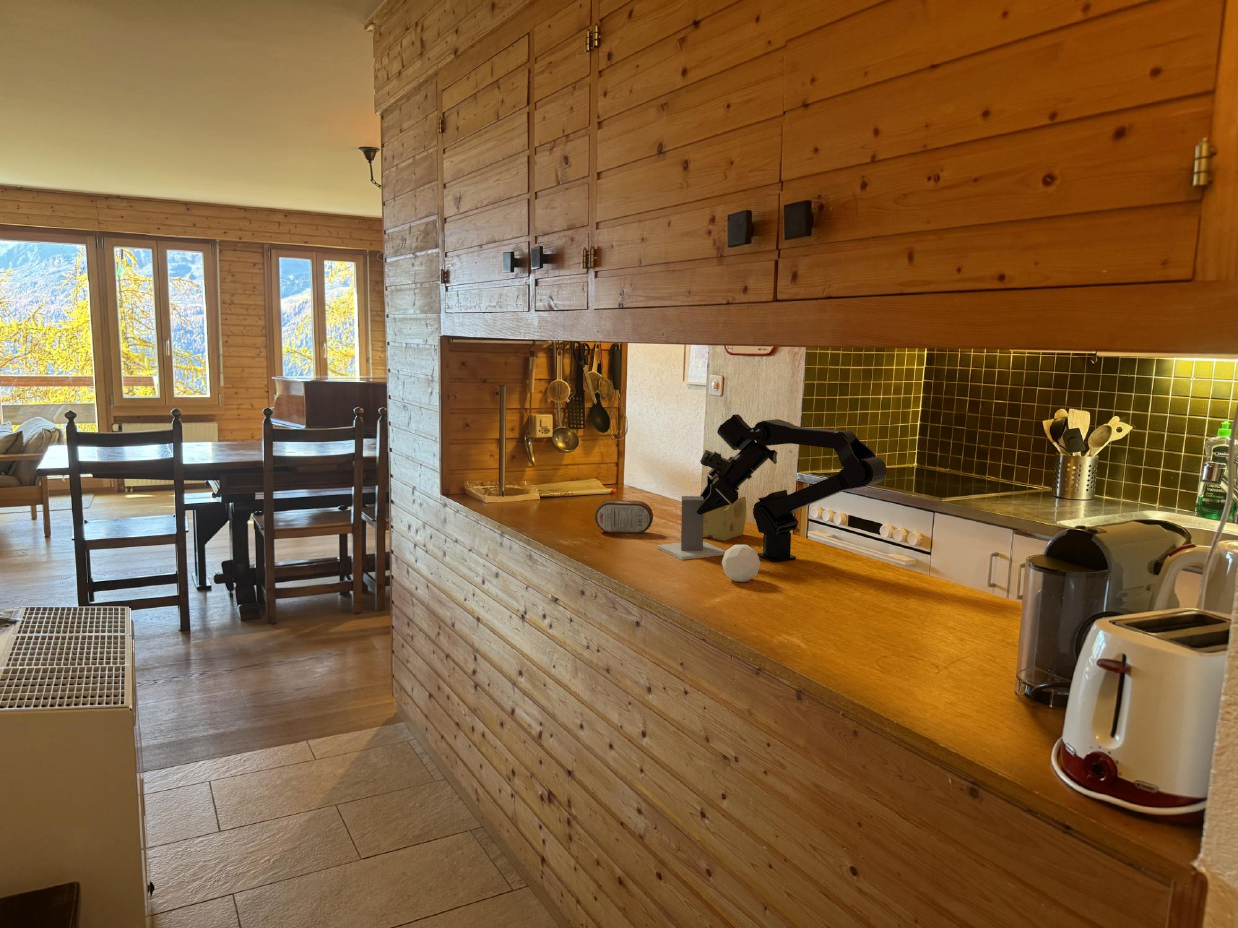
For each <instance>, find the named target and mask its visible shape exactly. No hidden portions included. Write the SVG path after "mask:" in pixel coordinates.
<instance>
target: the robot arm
mask: <svg viewBox="0 0 1238 928" xmlns="http://www.w3.org/2000/svg"><path fill="white" fill-rule="evenodd" d="M716 433H717V435H718V436H719V437H720V438H721V439H722V440H723V441H724V442H725V443H726V444H727V445H728V446H729V448H731V449H732V451H738V450H739V452H738V453H737V454H736V455H734V456H729V457H728V459H727V458H725V457H722V454H721V453H719V452H717V451H713V452H712V451H710V450H708V449H705V450H704V452H703V455H702V456H701V457H700V458H701V459H700V461H699V462H700V464H701V466H704V467H709V468H711V470H709V472H708V473H707V476H706V486H705V488H704V489H703V490H702V492H701V494H700V496H703V499H704V502H703V503H702V505H701V506H700V507H699V509H698V510H697V513H698V514H699V515H701V514H704V513H707V512H709V511H712V510H715V509H717V508H720V507H723V506H726V505H730V503H731V504H733V503H734V502H735V501H736V500H737V499H738V496H739V492H738V491H739V487H741V485H742V484H743V483H744V482H746V481H747V479H748V480H750V479H751V478H753V476H752V475H753V474H754V473H755V472H756V471H757V470H758V469H759V468H760V467H762V465H763V464H765V462H766V461H768V460H770V461H771V462H772V464H774V465H776V464H777V463H778V461H777V459H778V458H777V456H778V452H777V451H776V449H770V448H769V447H770V446H777V445H778V446H779V445H780V446H781V445H788V444H793V445H801V446H810V447H818V448H825V449H833V450H834V451H835V452H836V454H837V457H838V460H839V463H840V466H841V467H842V468H841V469H840V470H839V471H838V472H837V473H836V474H834V475H833V476H830V477H828V478H825V479H822V480H820V481H817V482H816V483H813V484H811V485H808V486H806V487H803V488H801V489H798V490H797V491H793V492H792V493H789V494H788V490H787V489H782V490H778V491H774V492H770V493H769V494H768V495H766V496H762V497H759V498H758V501H757V502H755V503H754V505H753V508H752V514H753V518H754V520H755V523H756V526H757V531H758V533H760V534H763V538H762V539H763V540H762V541H763V542H762V552H757V554H758V557H761V558H763V559H765V560H768V561H770V562H781V561H782V562H783V561H790V560H796V559H797V556H795V555H792V554H791V553H792V552H791V551H792V550H791V548H792V547H791V546H792V532H791V531H796V530H797V528H798V525H799V520H798V519H797V518H796V516H795V515H794V514H796V512H798V511H799V510H800V509H802V508H805V507H807V506H809V505H812V504H815V503H818V502H819V501H822V500H824V499H827V498H830V497H832V496H834V495H836V494H839V493H841V492H844V491H847V490H852V489H857V488H858V489H859V488H862V487H868V486H871V485H876V484H879V483H881V482H883V481H884V480H886V477H887V473H888V468H887V465H886V463H885V461H884V460H883V459H882V458H880V457H878V456H877V455H876V454H875V452H873V450H872V449H871V448H870V447H868V446H867V445H866V444H865V443H863V442H862V441H861V440H860V439H859V438H858V436H856V434H855V433H854V432H853V431H851V430H848V429H847V430H838V429H835V430H834V429H826V428H817V427H816V428H815V427H806V426H799V425H795V424H793V423H792V422H789V421H785V420H783V419H779V418H775V419H774V418H773V419H765V420H760V421H757V423H756V424H755V425H754V427H753V426H752V427H751V426H750V425H749V424H748V423H747V422H746V421H744V419H743V418H742V416H741V415H740V414H739V413H737V414H732V415H731V416H730V418H728V419H726V420H725V421H724V422H722V423H721V424H720V425H719V426H718V429H717V432H716ZM768 446H769V447H768ZM729 502H730V503H729Z"/></svg>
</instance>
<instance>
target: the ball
mask: <svg viewBox="0 0 1238 928" xmlns="http://www.w3.org/2000/svg"><path fill="white" fill-rule="evenodd" d="M759 557H760V556H758V551H756V550H755V549H754V548H752V547H751V546H749V545H748V544H734V545H732V546H731V547H729V548H728V549H726V550H725V554H724V555H723V557H722V560H721V565H722V568H723V571H724V574H725V575H726V576H727V577H728V578H730V579H731V580H733V582H737V583H738V582H739V583H740V582H741V583H742V582H744V583H745V582H749V581H750V580H751V579H754V578H755V576H757V575H758V572H759V569H760V566H761V561H760V558H759Z"/></svg>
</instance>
